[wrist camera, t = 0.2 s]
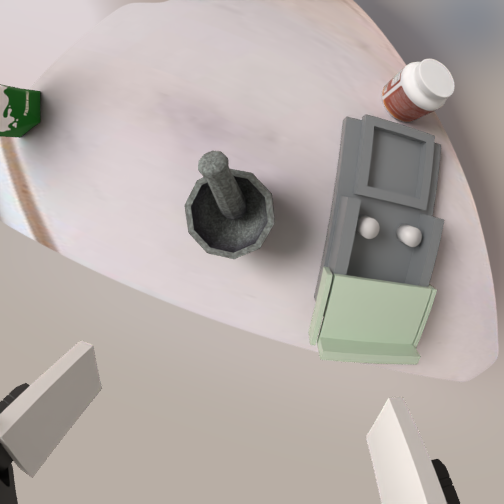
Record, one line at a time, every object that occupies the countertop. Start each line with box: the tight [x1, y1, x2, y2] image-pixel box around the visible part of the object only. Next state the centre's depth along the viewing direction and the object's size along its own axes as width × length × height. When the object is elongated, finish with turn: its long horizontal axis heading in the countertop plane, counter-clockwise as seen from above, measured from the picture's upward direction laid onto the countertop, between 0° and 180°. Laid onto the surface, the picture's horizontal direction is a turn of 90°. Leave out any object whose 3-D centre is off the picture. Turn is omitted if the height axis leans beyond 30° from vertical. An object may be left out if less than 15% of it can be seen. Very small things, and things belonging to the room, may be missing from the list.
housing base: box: [314, 115, 444, 316], centre depth 32 cm, size 24×14×6 cm, turn 172°
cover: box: [308, 267, 437, 364], centre depth 30 cm, size 9×15×6 cm, turn 83°
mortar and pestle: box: [185, 151, 275, 259], centre depth 30 cm, size 11×9×12 cm
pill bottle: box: [382, 59, 454, 122], centre depth 25 cm, size 6×6×11 cm
